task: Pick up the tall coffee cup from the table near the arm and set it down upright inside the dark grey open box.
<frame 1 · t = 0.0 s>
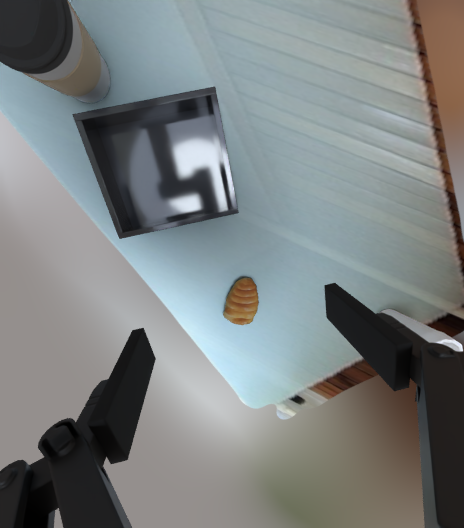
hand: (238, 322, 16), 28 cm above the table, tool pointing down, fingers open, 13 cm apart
coffee cup: (85, 75, 33), on the table
dark grey open box: (169, 170, 38), on the table
pastry: (239, 299, 48), on the table
foam cup: (384, 320, 54), on the table
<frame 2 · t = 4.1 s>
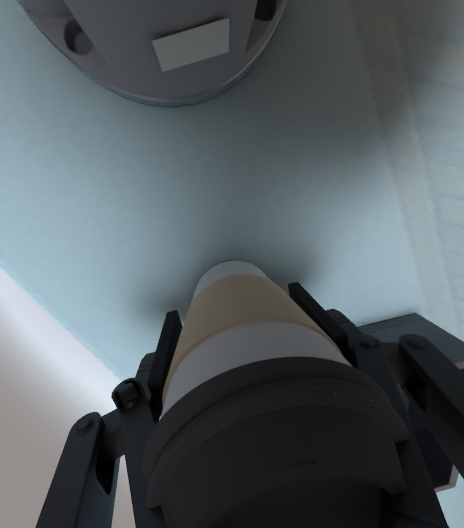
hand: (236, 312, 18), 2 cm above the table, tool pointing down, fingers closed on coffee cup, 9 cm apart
coffee cup: (232, 296, 20), on the table, touching gripper
dark grey open box: (330, 396, 25), on the table
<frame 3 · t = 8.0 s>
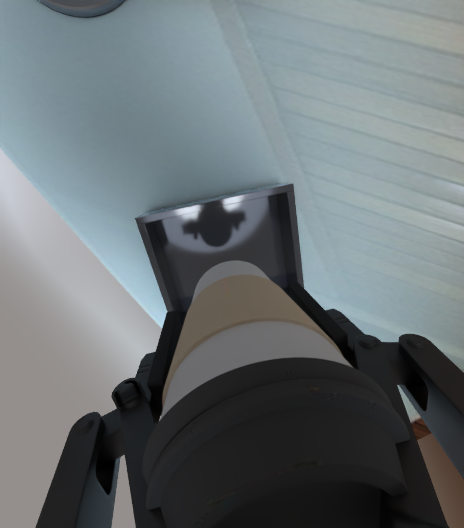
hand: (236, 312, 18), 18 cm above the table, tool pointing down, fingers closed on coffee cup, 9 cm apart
coffee cup: (232, 297, 20), point 16 cm above the table, touching gripper
dark grey open box: (225, 253, 35), on the table
when the fingers open (3 cm above the table, at t = 11.8 s): coffee cup stays where it is, resting on dark grey open box.
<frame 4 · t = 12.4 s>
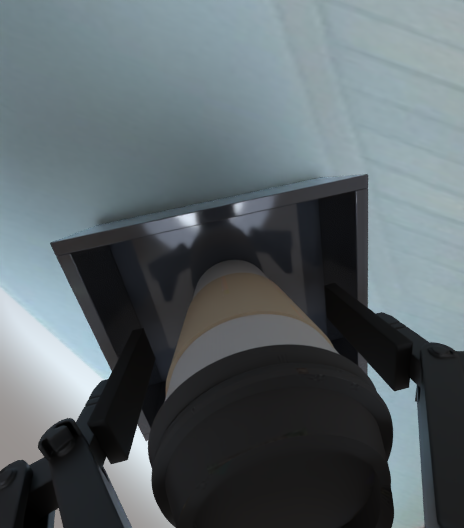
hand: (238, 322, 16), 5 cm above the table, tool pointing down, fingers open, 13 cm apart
coffee cup: (232, 295, 21), point 1 cm above the table, touching dark grey open box
dark grey open box: (230, 290, 22), on the table
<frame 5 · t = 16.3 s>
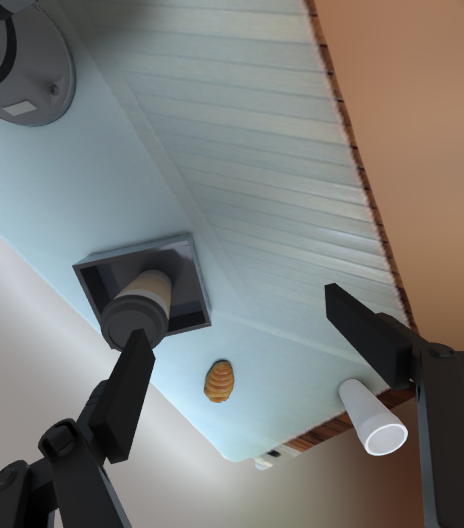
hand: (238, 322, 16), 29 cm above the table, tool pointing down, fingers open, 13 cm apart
coffee cup: (153, 286, 44), point 1 cm above the table, touching dark grey open box
dark grey open box: (154, 284, 45), on the table
pastry: (218, 376, 55), on the table
foam cup: (349, 387, 61), on the table
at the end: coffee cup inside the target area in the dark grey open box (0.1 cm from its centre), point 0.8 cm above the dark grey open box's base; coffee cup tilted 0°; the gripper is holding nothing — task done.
